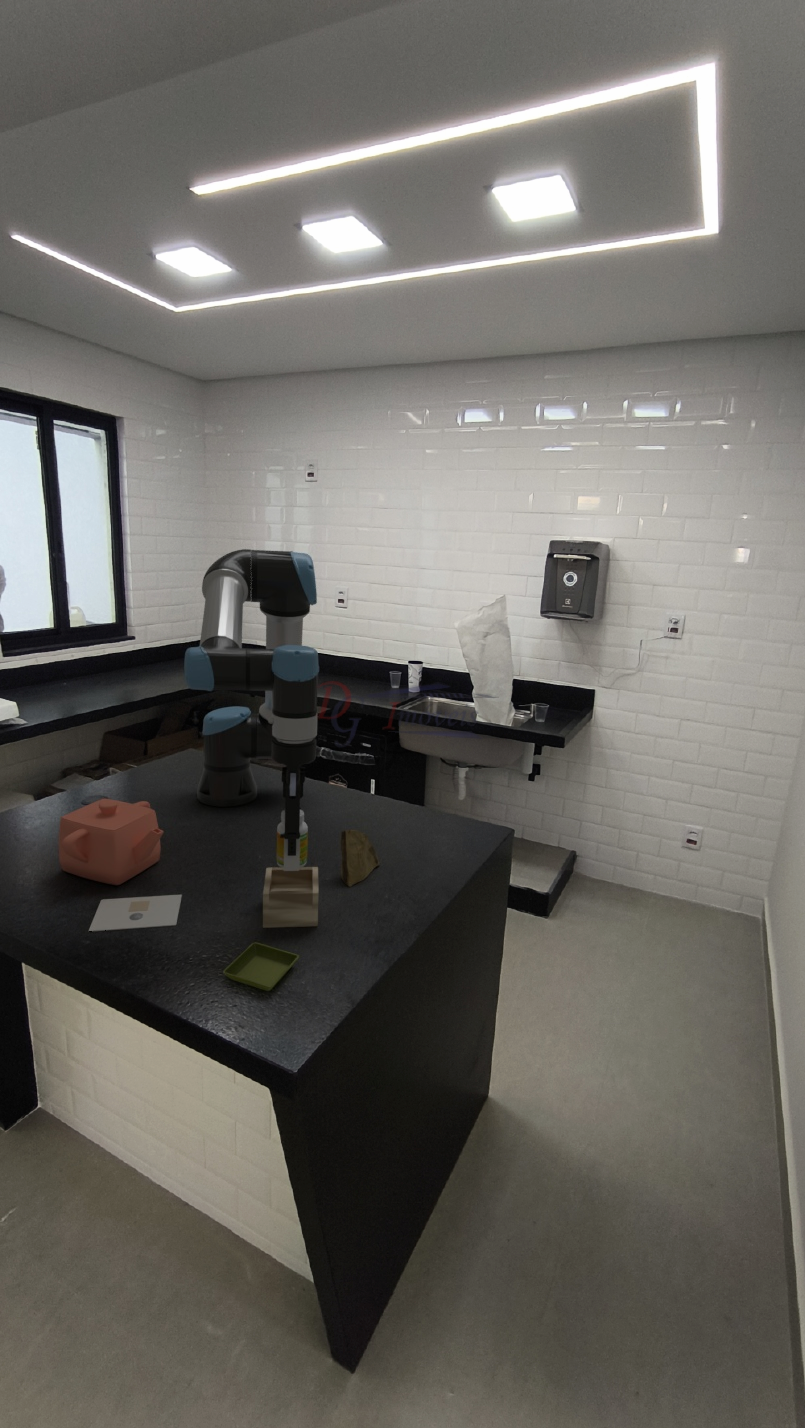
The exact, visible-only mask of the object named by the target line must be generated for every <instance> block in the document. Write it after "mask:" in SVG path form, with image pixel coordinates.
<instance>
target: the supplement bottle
mask: <svg viewBox="0 0 805 1428" xmlns="http://www.w3.org/2000/svg"><path fill="white" fill-rule="evenodd" d="M280 821H281V822H279V823H278V824H277V827H276V864H277V866H278V867H281V868H284V838H280V835H281V834H284V833H285V809H284V810H281V813H280ZM308 828H309V826H308V824H307V823H306V822H305V812H304V810H302V809H301V810H300V826H299V832H300V867H299V868H301V867H306V865H307V863H308V836H309V834H308V833H309V831H308V830H309V829H308Z"/></svg>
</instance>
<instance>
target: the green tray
mask: <svg viewBox="0 0 805 1428" xmlns="http://www.w3.org/2000/svg"><path fill="white" fill-rule="evenodd" d="M299 958H300V955H299V954H296V953H294V952H293V953H292V952H289V951H286V950H283V949H280V948H276V947H273V946H270V945H267V944H263V943H260V942H252V943H251V944H250V945H249V946H247V948H246V949H244V950H243V952H241V954H239V955H238V956H237V957H236V958H235V959H234V960H232V962H231V963H230V964H229V965H227V967H226V968H224V970H222V973H223V975H225V976H226V977H228V978H229V979H230V980H232V981H235V982H238V983H242V984H244V985H248V986H251V987H253V988H257V989H258V990H259V989H260V990H263V991H265V992H270V991H271V990H272V989H273V988H274V987H275V986H276V985H277V984H278V982H279V981H280V980H281V979H282V978H283V977H284V976H285V975H286V974H287V972H288V971H289V970H290V969H291V968H292V967H293V966H294V964H295V963H296V962H297V961H298V960H299Z"/></svg>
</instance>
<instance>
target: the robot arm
mask: <svg viewBox="0 0 805 1428" xmlns="http://www.w3.org/2000/svg"><path fill="white" fill-rule="evenodd" d="M315 574H316V573H315V567H314V561H313V558H312V556H310V554H308V553H305V552H296V551H293V550H291V551H289V550H288V551H286V550H284V551H283V550H265V549H263V550H261V549H248V548H245V549H244V548H243V549H238V550H234V551H233V550H232V551H231V552H230V551H229V553H227V554H224V555H222V556H221V557H219V558H218V559H216V561H214V562H213V563H212V564H211V565H210V566H209V568H208V569H207V571H206V572H205V574H204V575H203V579H202V585H201V592H202V596H203V598H204V600H205V601H204V609H203V618H202V624H201V632H200V640H199V641H200V642H199V646H194V647H193V646H192V647H188V648H187V649H186V651H185V653H184V666H183V667H184V669H183V670H184V681H185V685H186V687H187V688H188V689H190V690H199V691H207V692H212V691H251V692H253V691H255V692H256V691H257V692H262V691H263V692H264V693H265V694H264V695H265V701H264V703H262V704H261V705H260V707H259V709H258V710H259V711H258V713H252V711H251V710H250V707H247V706H239V705H238V706H227V707H221V708H217V709H214V710H212V711H210V712H208V713H207V714H205V716H204V718H203V723H202V724H203V725H202V732H201V733H202V735H203V736H202V737H203V770H202V774H201V776H200V779H199V783H198V786H197V789H196V794H197V795H196V796H197V797H196V798H197V800H198V801H199V802H200V803H202V804H204V805H206V806H210V807H212V806H213V807H219V808H221V807H222V808H226V807H227V808H228V807H229V808H230V807H236V806H242V805H245V804H248V803H251V802H253V801H254V800H255V799H256V798H257V797H258V787H257V783H256V780H255V778H254V775H253V772H252V768H251V759H272V760H273V761H274V762H275V763H277V764H280V765H284V766H282V771H281V782H282V797H283V798H284V799H285V800H284V810H285V833H284V834H281V835H280V838H284V871H299V867H300V832H299V826H300V810H302V807H301V799H302V798H303V797H304V783H305V781H306V767H303V765H308V764H310V763H312V762H314V761H315V760H316V758H317V739H316V737H317V735H318V707H317V706H318V687H319V686H318V685H319V672H320V666H319V653H318V651H317V650H316V648H314V647H310V646H308V645H303V629H304V628H303V627H304V626H303V625H304V618H305V617H306V616H307V615H308V614H310V612H311V606H314V605H316V604H317V603H318V599H317V597H318V593H317V582H316V575H315ZM245 602H246V603H247V602H250V603H259V611H261V613H263V615H264V616H265V617H266V618H265V619H266V620H265V621H266V622H265V624H266V625H265V628H266V629H265V648H248V647H246V648H244V647H242V646H243V615H244V604H245Z"/></svg>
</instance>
